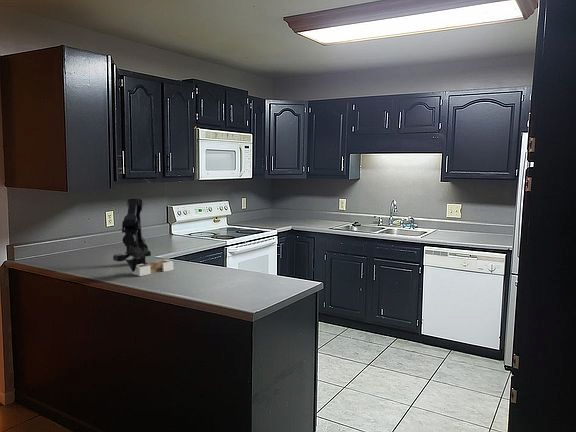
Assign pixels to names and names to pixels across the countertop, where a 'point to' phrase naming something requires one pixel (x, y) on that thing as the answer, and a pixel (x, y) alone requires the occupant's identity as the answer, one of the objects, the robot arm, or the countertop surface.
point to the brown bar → (155, 266)
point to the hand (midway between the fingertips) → (133, 271)
